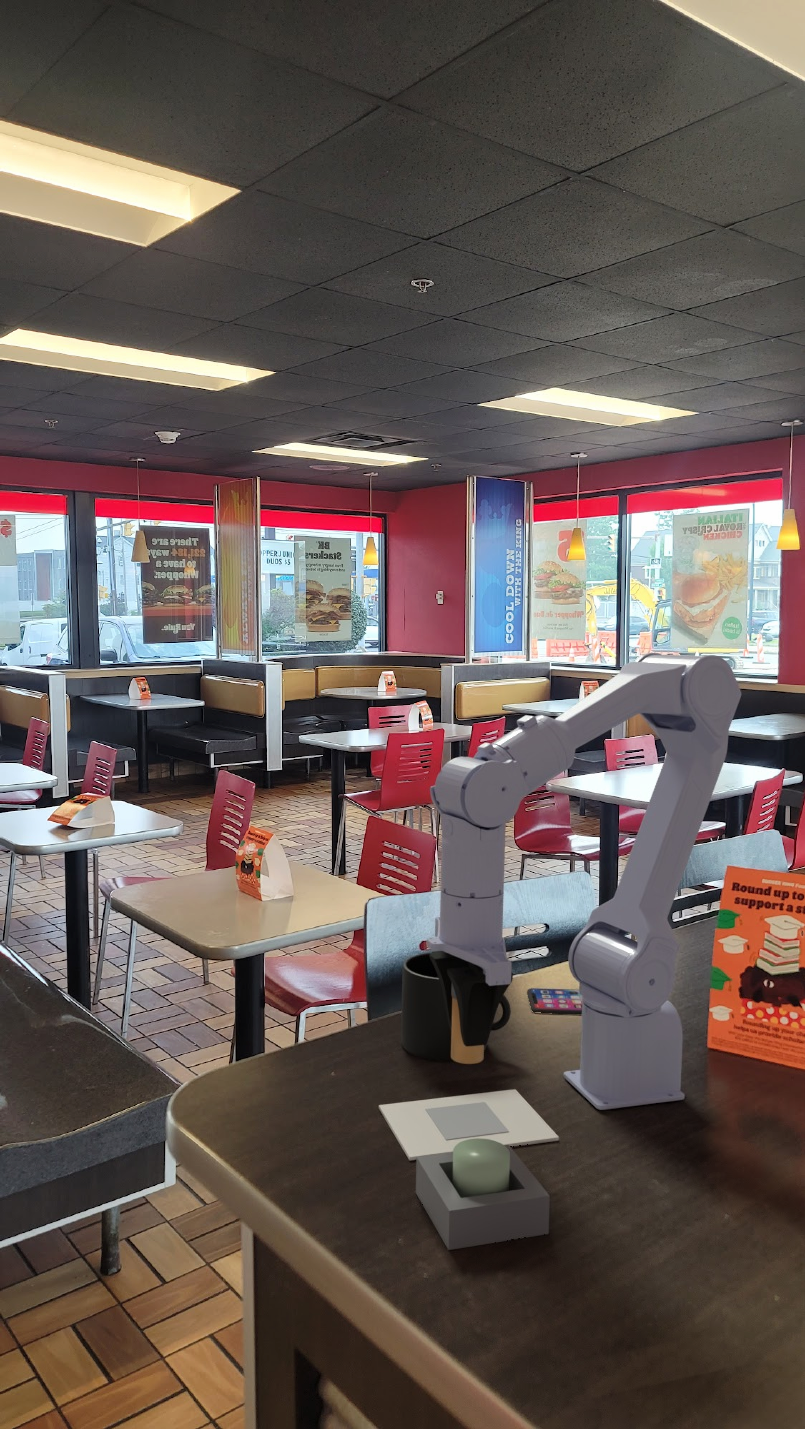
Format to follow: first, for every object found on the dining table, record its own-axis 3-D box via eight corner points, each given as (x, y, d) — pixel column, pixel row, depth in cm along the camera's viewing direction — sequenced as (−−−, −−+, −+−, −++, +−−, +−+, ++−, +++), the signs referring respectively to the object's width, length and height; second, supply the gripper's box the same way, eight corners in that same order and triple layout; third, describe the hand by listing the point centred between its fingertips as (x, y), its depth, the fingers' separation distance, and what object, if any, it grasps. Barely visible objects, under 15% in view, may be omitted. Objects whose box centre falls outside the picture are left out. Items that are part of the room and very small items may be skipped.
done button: (496, 1171, 83) (497, 1135, 83) (517, 1200, 79) (518, 1162, 78) (444, 1178, 82) (445, 1142, 81) (463, 1208, 77) (464, 1170, 77)
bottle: (478, 1048, 96) (480, 975, 96) (489, 1062, 93) (491, 987, 93) (445, 1051, 95) (447, 977, 95) (455, 1065, 92) (457, 989, 92)
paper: (515, 1092, 102) (515, 1088, 102) (558, 1140, 92) (558, 1136, 92) (378, 1108, 98) (378, 1104, 98) (409, 1160, 88) (409, 1156, 88)
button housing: (507, 1179, 85) (508, 1144, 85) (548, 1233, 78) (549, 1195, 77) (415, 1192, 83) (416, 1156, 83) (448, 1249, 75) (449, 1210, 75)
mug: (499, 1072, 106) (501, 987, 105) (389, 1055, 110) (391, 972, 109) (518, 1038, 115) (520, 959, 114) (415, 1024, 119) (417, 947, 118)
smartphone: (658, 1013, 123) (532, 1009, 123) (658, 1021, 123) (531, 1017, 123) (645, 990, 130) (526, 987, 130) (645, 997, 130) (526, 994, 131)
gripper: (406, 874, 99) (403, 1011, 100) (457, 914, 85) (453, 1073, 86) (475, 870, 101) (471, 1005, 102) (536, 909, 87) (531, 1065, 88)
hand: (468, 1036), depth 94 cm, fingers closed on bottle, 3 cm apart
